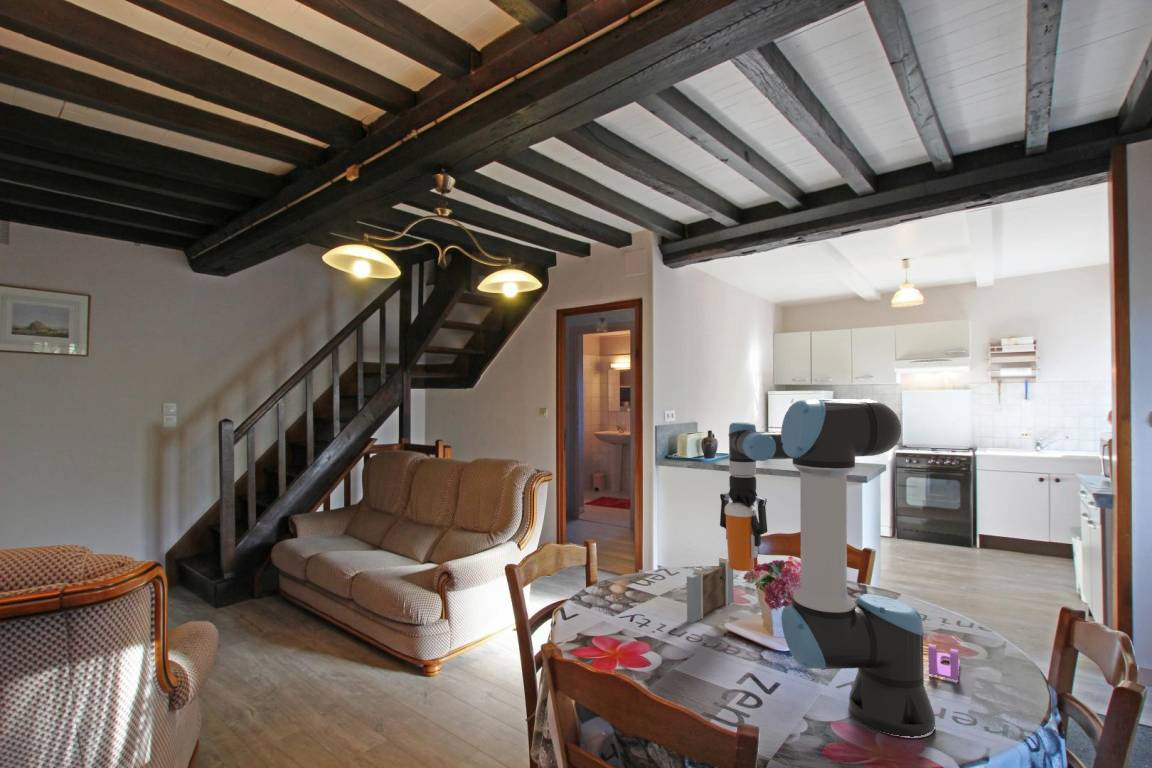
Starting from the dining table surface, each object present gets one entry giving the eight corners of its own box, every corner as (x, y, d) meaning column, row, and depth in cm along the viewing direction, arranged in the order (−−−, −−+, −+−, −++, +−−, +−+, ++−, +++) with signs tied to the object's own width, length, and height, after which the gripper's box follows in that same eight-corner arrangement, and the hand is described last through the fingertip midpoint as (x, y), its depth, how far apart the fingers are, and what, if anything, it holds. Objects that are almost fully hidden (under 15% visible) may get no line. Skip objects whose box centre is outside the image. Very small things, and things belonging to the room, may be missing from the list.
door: (704, 616, 160) (704, 577, 160) (697, 614, 162) (697, 575, 162) (727, 604, 170) (726, 567, 170) (720, 602, 171) (719, 565, 172)
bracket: (958, 684, 123) (957, 653, 123) (928, 677, 126) (928, 646, 127) (960, 662, 133) (959, 633, 134) (933, 655, 137) (932, 628, 137)
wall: (693, 623, 156) (693, 573, 157) (686, 620, 158) (685, 571, 159) (734, 600, 174) (733, 555, 174) (726, 598, 176) (726, 554, 176)
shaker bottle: (725, 570, 156) (723, 500, 156) (725, 561, 164) (724, 495, 165) (757, 573, 153) (756, 502, 154) (756, 564, 162) (755, 496, 162)
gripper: (780, 477, 155) (781, 558, 154) (719, 470, 168) (719, 545, 168) (769, 480, 149) (769, 564, 149) (706, 473, 163) (707, 550, 162)
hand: (743, 554), depth 158 cm, fingers open, 6 cm apart
